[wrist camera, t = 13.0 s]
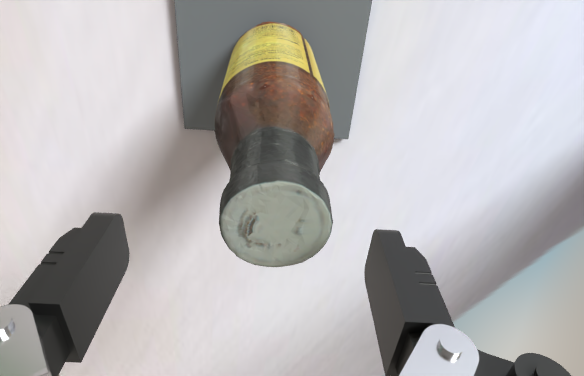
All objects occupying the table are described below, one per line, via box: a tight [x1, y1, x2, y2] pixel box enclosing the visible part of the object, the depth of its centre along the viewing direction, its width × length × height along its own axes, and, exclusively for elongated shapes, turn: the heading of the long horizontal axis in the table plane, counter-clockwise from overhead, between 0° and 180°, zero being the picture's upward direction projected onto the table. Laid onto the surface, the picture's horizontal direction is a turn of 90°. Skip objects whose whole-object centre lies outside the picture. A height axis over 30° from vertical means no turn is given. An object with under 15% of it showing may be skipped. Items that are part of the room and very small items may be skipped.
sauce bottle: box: [215, 21, 335, 267], centre depth 22 cm, size 7×6×20 cm
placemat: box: [174, 0, 372, 139], centre depth 30 cm, size 14×12×1 cm
